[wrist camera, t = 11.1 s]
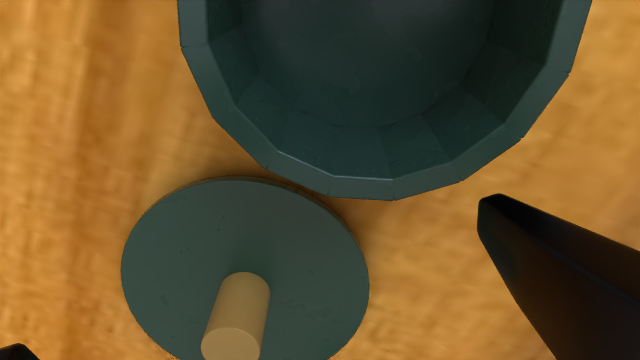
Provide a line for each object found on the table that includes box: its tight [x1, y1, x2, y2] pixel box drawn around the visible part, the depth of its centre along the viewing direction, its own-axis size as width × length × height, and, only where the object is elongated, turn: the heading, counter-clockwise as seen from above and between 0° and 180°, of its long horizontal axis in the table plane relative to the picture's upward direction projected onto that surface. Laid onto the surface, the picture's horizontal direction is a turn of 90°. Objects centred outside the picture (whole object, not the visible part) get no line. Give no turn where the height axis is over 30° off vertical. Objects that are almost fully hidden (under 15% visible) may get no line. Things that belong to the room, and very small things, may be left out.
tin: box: [177, 0, 592, 201], centre depth 14 cm, size 11×11×5 cm
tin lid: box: [121, 176, 369, 360], centre depth 20 cm, size 12×12×5 cm
